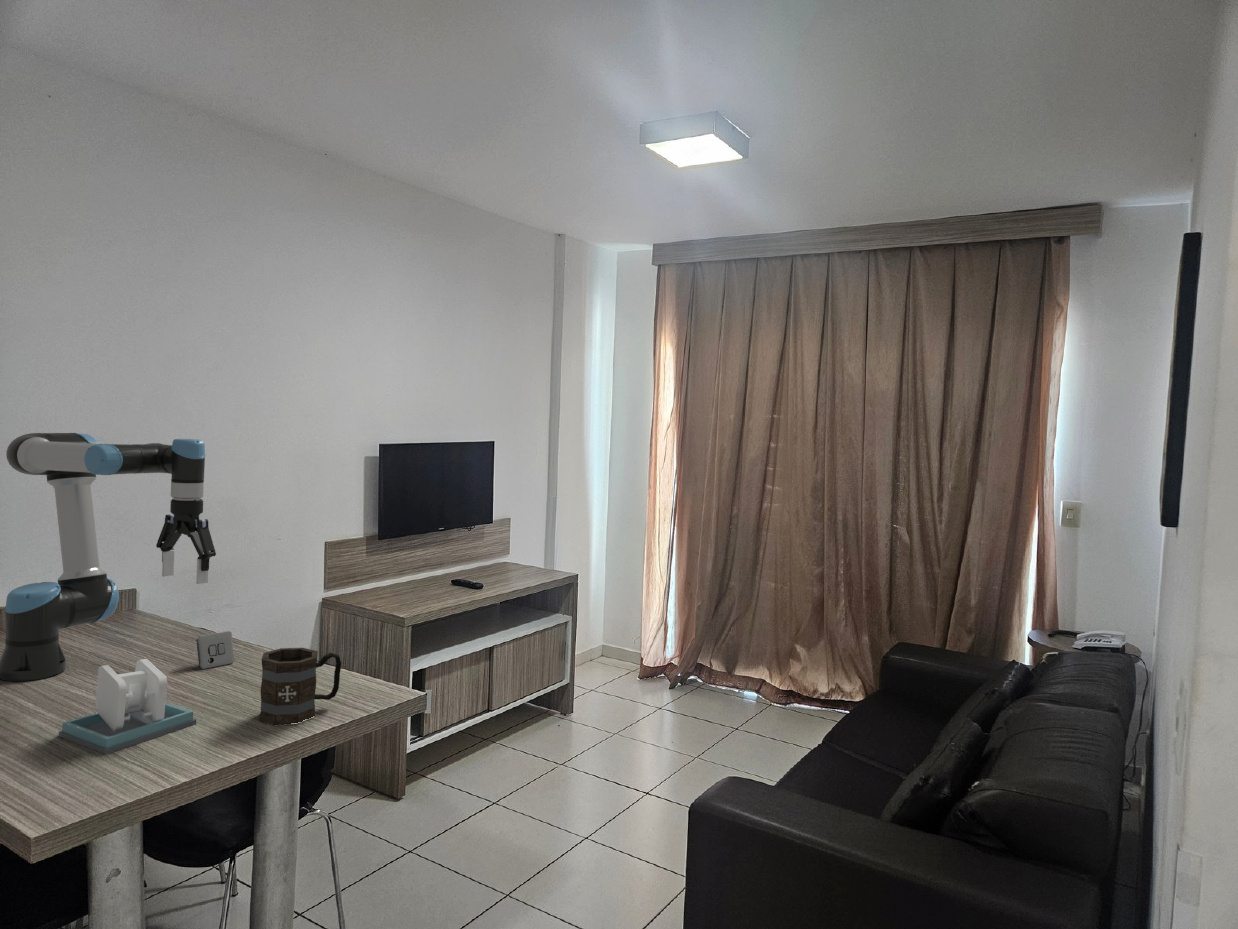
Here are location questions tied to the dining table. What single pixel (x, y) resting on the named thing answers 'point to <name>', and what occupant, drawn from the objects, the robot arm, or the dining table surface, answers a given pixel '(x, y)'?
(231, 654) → the electrical switch
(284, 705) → the mug
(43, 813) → the dining table surface
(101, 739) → the teal tray
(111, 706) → the white spool piece
